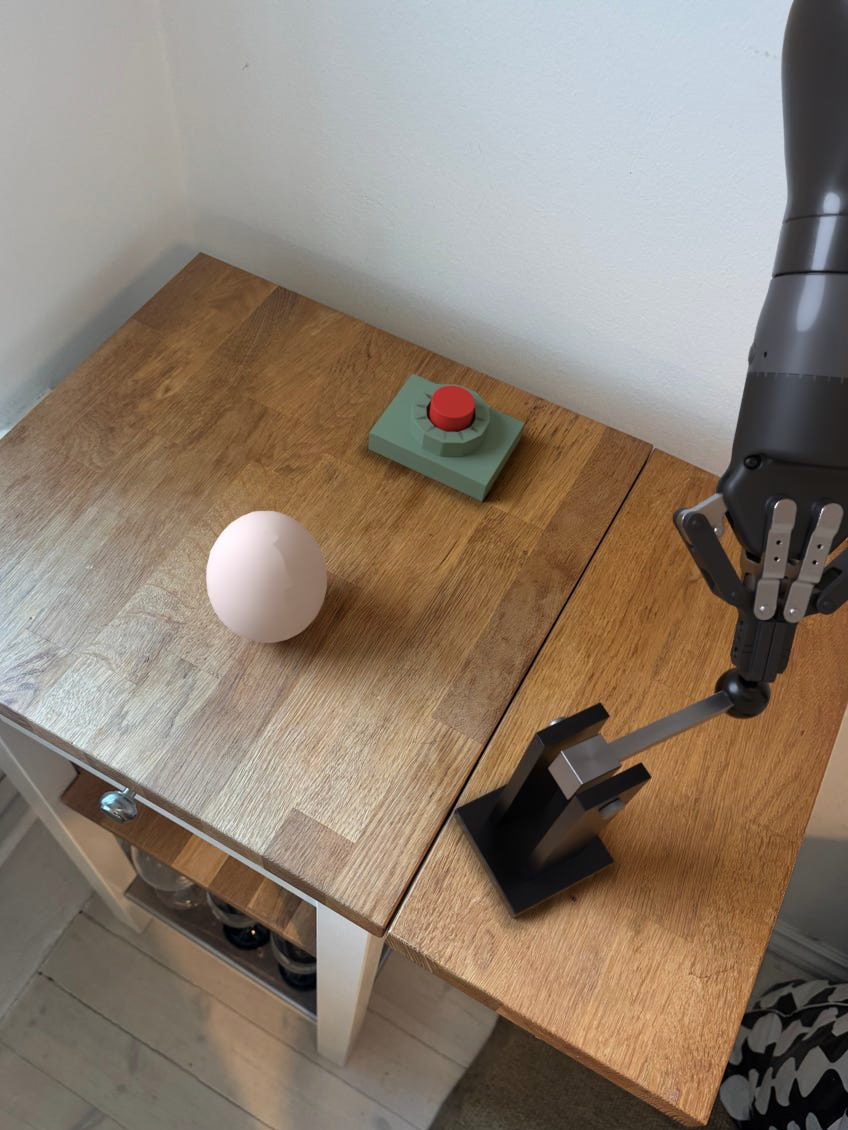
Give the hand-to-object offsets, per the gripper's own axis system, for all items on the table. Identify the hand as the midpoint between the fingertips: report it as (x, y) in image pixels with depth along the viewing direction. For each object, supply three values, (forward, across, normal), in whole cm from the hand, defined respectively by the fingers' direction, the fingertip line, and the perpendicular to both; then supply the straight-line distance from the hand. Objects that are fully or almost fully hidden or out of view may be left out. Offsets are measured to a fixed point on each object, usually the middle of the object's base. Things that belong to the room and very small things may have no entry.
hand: (755, 677), depth 54 cm
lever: (+4, -5, 0) cm, 7 cm away
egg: (+4, -30, +18) cm, 35 cm away
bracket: (+15, -10, +6) cm, 19 cm away
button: (-12, -17, +28) cm, 35 cm away
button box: (-10, -17, +31) cm, 37 cm away
